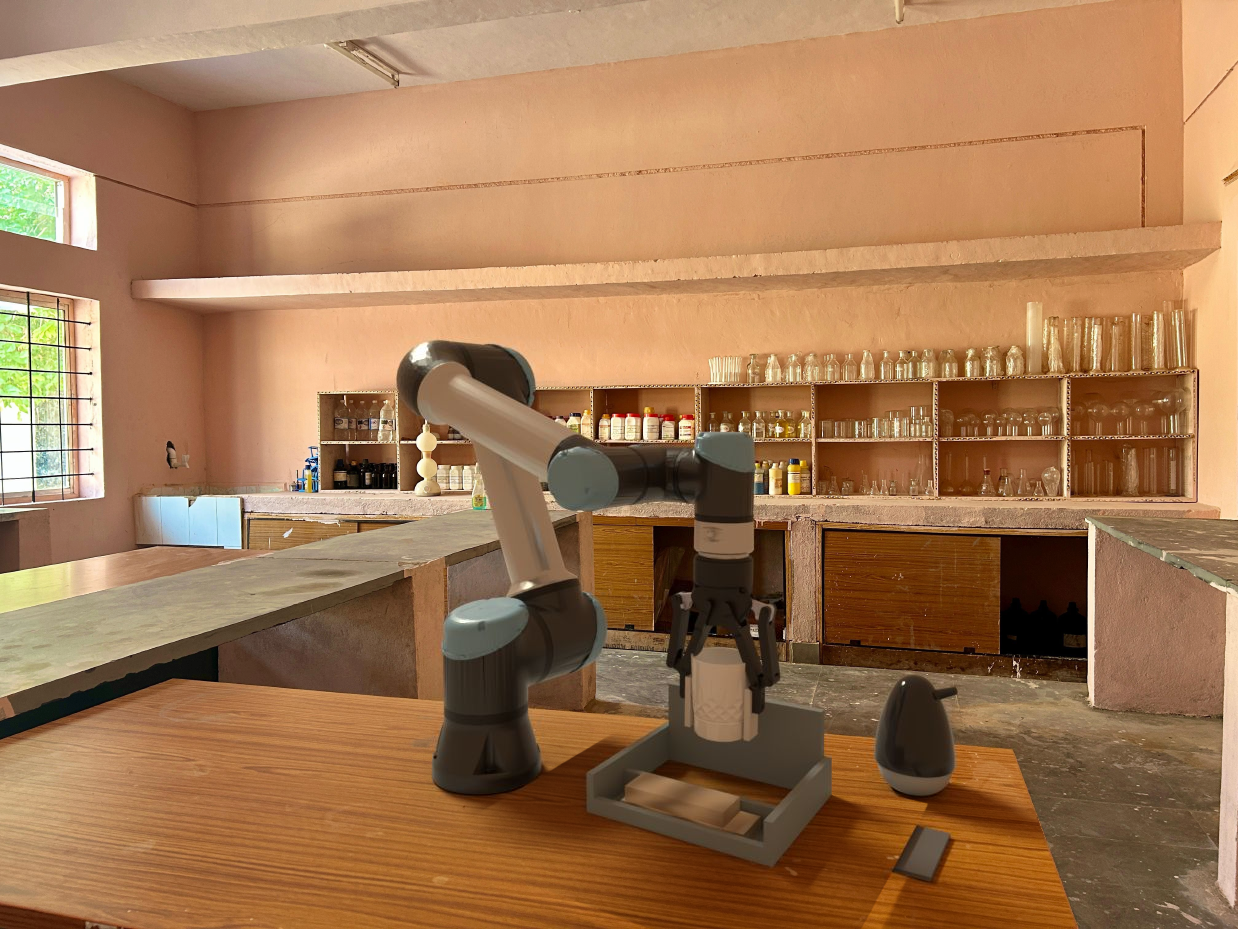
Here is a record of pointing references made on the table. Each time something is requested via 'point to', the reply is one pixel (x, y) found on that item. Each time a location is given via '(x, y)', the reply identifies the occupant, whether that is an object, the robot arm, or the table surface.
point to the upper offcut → (683, 799)
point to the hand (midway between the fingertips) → (720, 729)
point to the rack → (773, 756)
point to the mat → (922, 853)
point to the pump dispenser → (915, 737)
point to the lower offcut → (739, 825)
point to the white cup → (718, 694)
